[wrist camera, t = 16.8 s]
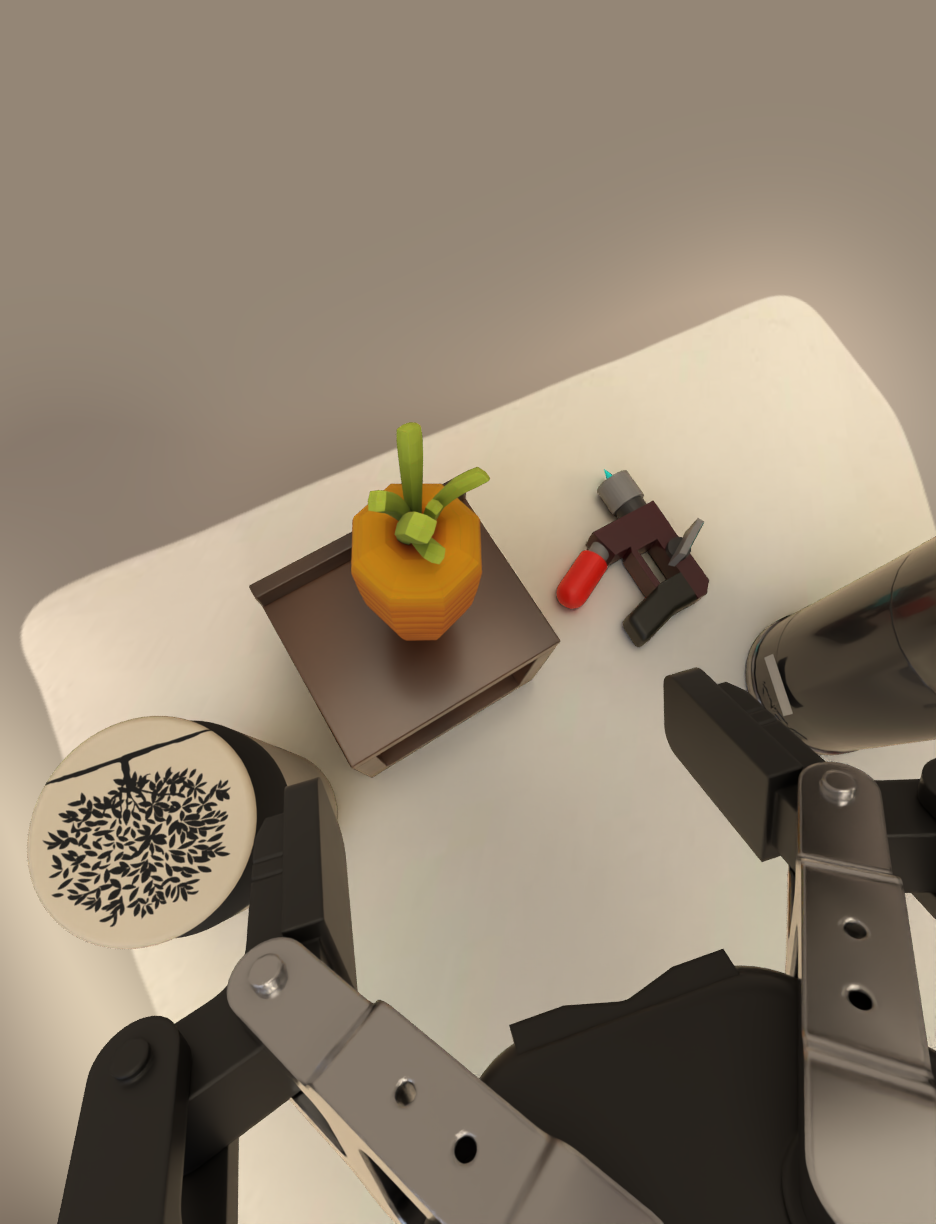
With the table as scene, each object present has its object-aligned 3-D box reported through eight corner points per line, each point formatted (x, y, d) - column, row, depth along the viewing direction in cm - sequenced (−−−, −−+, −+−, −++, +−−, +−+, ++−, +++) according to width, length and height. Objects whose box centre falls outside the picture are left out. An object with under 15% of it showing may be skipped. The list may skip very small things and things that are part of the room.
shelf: (453, 556, 44) (459, 474, 33) (532, 679, 42) (566, 633, 31) (296, 643, 42) (248, 585, 31) (371, 778, 40) (347, 766, 29)
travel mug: (346, 874, 38) (274, 927, 21) (209, 903, 37) (16, 985, 20) (328, 740, 40) (249, 689, 23) (199, 765, 39) (15, 732, 22)
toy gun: (618, 467, 47) (638, 430, 42) (714, 604, 44) (747, 580, 40) (505, 525, 45) (513, 493, 40) (597, 672, 42) (617, 655, 38)
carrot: (396, 564, 33) (366, 379, 19) (485, 598, 33) (523, 436, 19) (356, 651, 32) (292, 522, 17) (450, 687, 31) (462, 586, 17)
